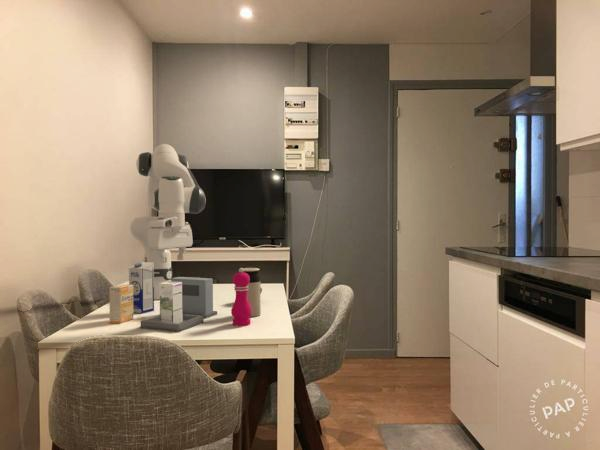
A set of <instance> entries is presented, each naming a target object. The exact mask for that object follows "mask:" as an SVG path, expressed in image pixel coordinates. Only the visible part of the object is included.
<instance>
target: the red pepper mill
mask: <svg viewBox="0 0 600 450" xmlns="http://www.w3.org/2000/svg"><path fill="white" fill-rule="evenodd" d="M243 271H244V269H243V267H240V268H239V269H238V272H236V273H235V274H234V275H233V277H232V282H233V284H234V286H233V288H234V289H233V290H234V291H235V300H234V302H233V304H232V306H231V312H230V313H231V316H232V317H233V318H232V325H233V326H235V327H246V326H249V325H250V324H251V317H249V316H250V315H251V313H252V309H251V306H250V304H249V301H248V298H247V290H248V287H249V286H247V285H248V283H249V282H250V277H249V275H248V274H247V273H244V272H243Z"/></svg>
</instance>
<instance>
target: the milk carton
mask: <svg viewBox="0 0 600 450" xmlns="http://www.w3.org/2000/svg"><path fill="white" fill-rule="evenodd" d="M128 284H129V285H133V314H141V315H143V314H146V313H150V312H154V311H155V300H154V263H152V262H147V261H140V262H136V263H134V264H133V265H132V266H129V267H128Z"/></svg>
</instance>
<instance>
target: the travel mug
mask: <svg viewBox="0 0 600 450" xmlns="http://www.w3.org/2000/svg"><path fill="white" fill-rule="evenodd" d="M242 268H243V267H242ZM243 269H244V271H243V272H244V273H247V274H248V275H249V277H250V282H249V283H248V285H247V286H249V287H248V290H247V298H248V301H249V304H250V306H251V309H252V313H251V315H250V316H249V318H254V317H258V316H261V315H262V314H261V312H262V311H261V309H262V308H261V294H260V287H261V276H260V274H259V273H260V268H258V267H244V268H243Z"/></svg>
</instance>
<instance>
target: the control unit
mask: <svg viewBox="0 0 600 450" xmlns="http://www.w3.org/2000/svg"><path fill="white" fill-rule="evenodd" d="M171 282H182V314H188V315H200V316H203V319H204V320H205V319H209V318H211V317H214V316H216V315H218V311H217V310H214V279H213V278H207V277H192V276H191V277H189V276H187V277H186V276H177V277H172V278H171Z"/></svg>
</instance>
